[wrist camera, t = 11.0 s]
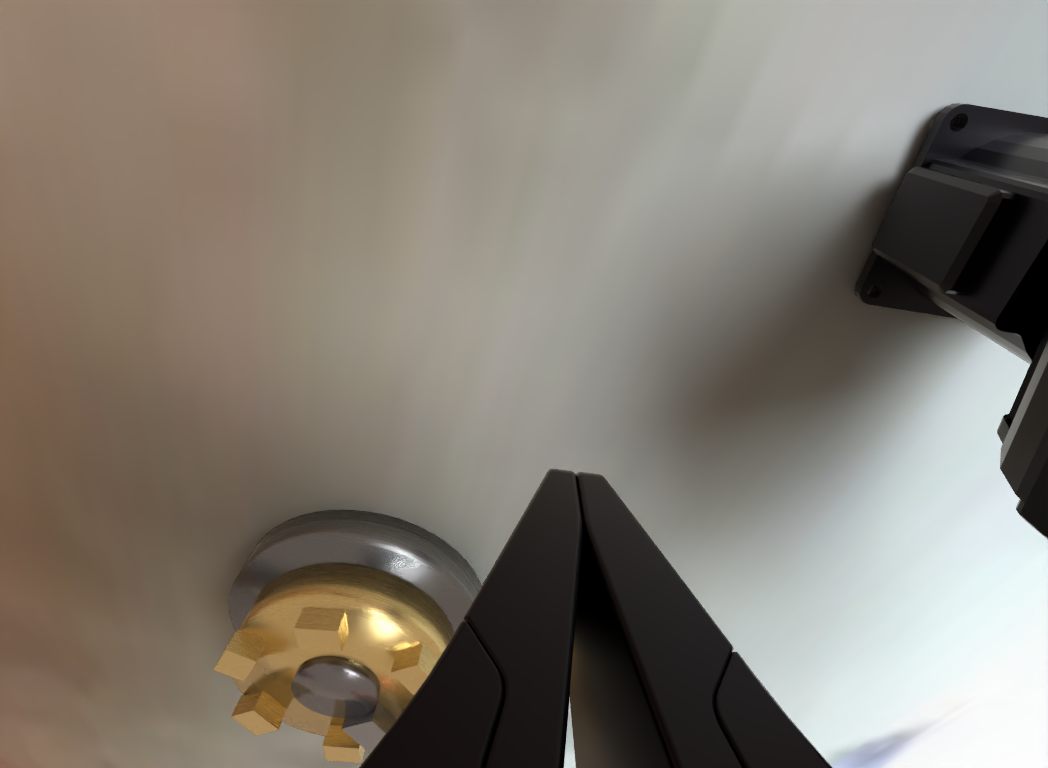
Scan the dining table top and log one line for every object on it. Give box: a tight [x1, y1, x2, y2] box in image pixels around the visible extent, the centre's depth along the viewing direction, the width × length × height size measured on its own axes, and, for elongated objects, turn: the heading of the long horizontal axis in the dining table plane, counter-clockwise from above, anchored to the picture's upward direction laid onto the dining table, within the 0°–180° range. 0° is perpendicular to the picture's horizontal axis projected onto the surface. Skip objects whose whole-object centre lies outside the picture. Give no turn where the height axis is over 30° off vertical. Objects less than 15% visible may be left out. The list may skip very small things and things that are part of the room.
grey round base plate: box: [229, 510, 482, 633], centre depth 29 cm, size 13×13×2 cm
